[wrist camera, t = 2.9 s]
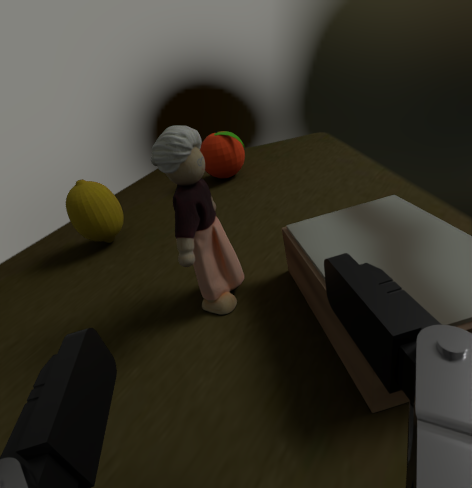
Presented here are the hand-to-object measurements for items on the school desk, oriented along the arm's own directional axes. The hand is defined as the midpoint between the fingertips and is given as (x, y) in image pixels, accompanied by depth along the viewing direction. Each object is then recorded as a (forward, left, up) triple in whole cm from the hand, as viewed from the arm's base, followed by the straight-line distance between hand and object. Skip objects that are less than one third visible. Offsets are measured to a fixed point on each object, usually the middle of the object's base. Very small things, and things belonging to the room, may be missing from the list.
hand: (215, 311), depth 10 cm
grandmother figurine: (0, +11, -8) cm, 14 cm away
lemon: (-12, +26, -8) cm, 30 cm away
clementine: (+5, +38, -8) cm, 39 cm away
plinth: (+10, +5, -8) cm, 14 cm away
